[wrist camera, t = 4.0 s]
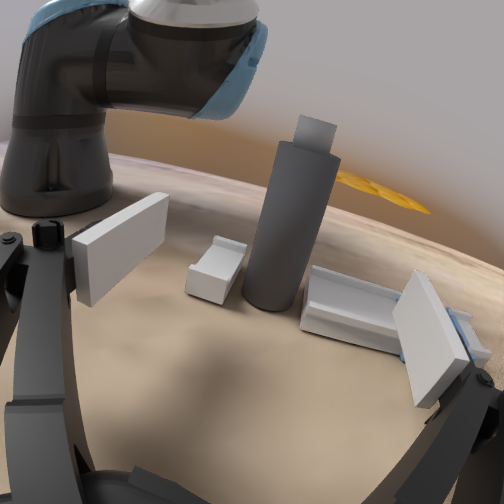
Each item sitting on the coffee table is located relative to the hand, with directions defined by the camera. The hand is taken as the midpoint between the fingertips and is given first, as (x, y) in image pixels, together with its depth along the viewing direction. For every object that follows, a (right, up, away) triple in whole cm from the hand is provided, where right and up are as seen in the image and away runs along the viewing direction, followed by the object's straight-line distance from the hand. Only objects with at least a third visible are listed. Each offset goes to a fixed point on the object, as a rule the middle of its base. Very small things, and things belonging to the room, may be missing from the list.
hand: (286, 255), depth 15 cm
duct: (+6, -5, +7) cm, 11 cm away
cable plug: (0, -3, +8) cm, 9 cm away
